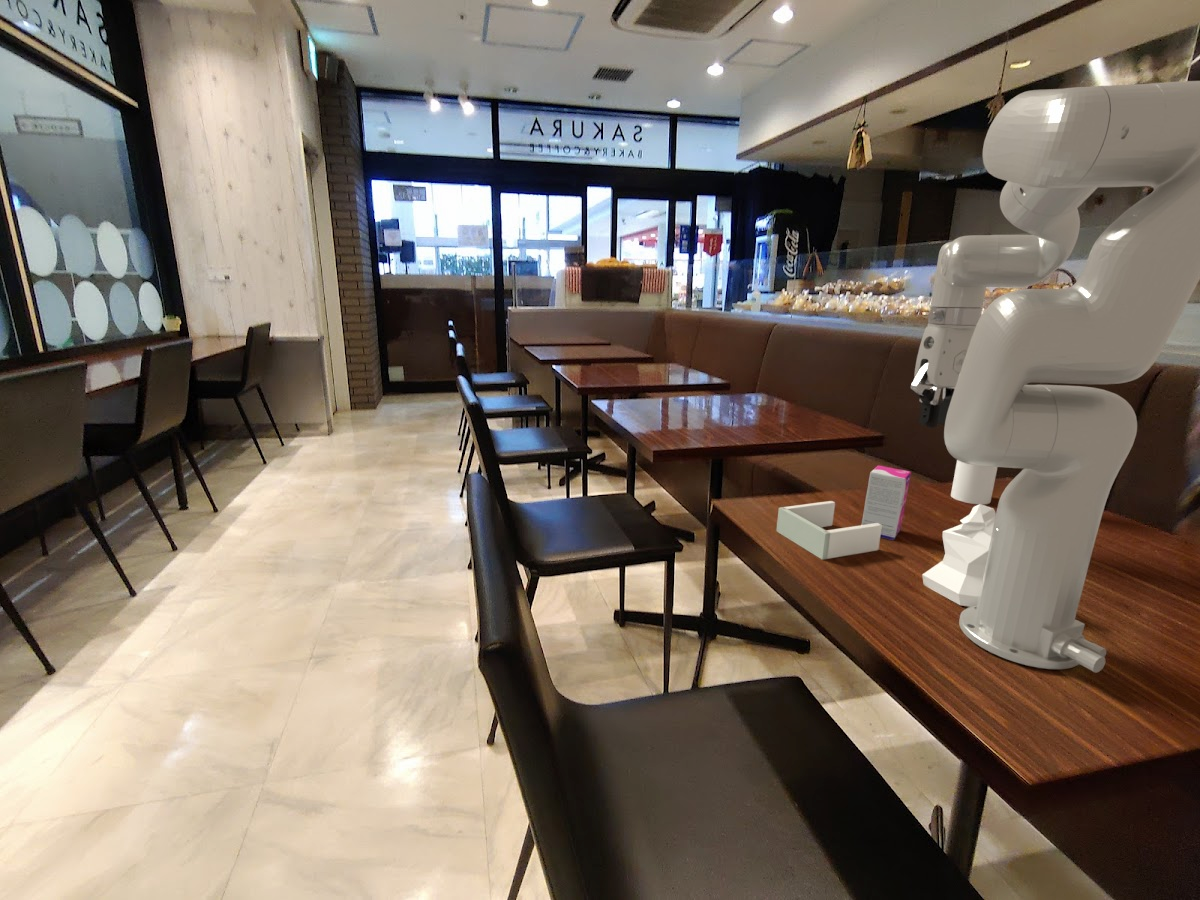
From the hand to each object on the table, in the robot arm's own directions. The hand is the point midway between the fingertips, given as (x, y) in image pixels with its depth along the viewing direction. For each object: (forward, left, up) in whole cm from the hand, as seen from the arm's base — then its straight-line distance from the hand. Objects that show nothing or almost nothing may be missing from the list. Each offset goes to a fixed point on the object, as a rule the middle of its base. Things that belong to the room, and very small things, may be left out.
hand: (936, 424), depth 102 cm
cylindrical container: (+8, -23, -19) cm, 31 cm away
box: (0, +21, -19) cm, 28 cm away
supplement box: (0, +9, -19) cm, 21 cm away
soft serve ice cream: (-22, +13, -20) cm, 32 cm away
